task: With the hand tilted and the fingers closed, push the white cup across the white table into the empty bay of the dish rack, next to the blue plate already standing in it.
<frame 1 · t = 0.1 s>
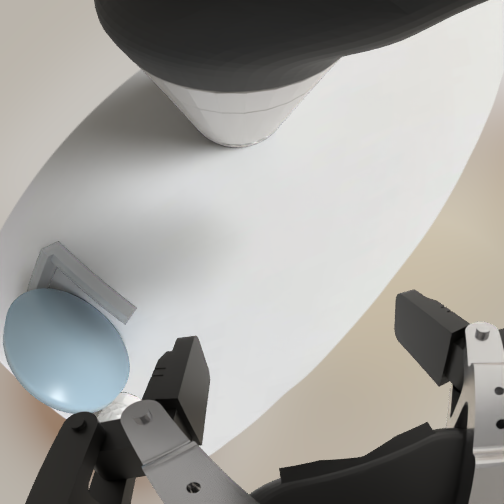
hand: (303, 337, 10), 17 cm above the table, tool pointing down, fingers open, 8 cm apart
dish rack: (62, 359, 30), on the table
white cup: (130, 406, 33), on the table
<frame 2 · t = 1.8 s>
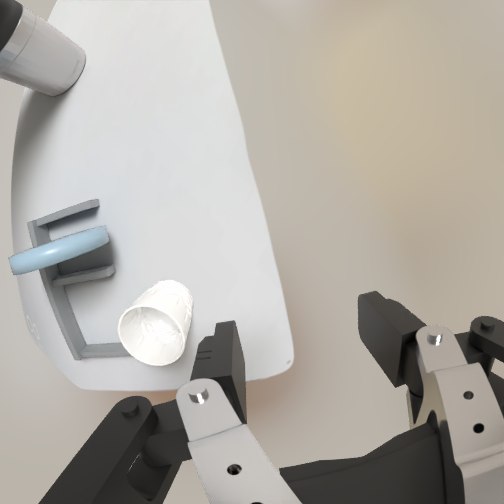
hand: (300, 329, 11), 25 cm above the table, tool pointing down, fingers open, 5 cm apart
dish rack: (100, 311, 37), on the table
white cup: (170, 301, 38), on the table
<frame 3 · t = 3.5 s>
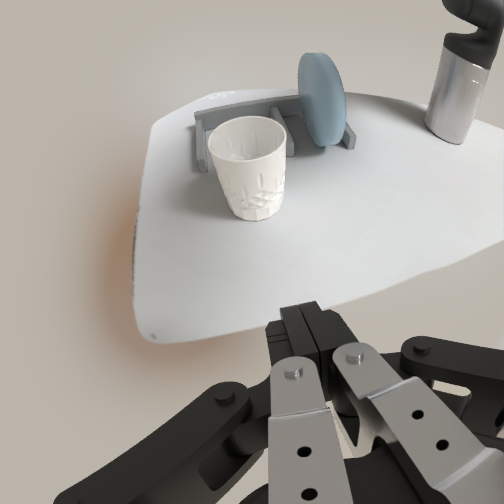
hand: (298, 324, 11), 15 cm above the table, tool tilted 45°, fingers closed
dish rack: (242, 143, 40), on the table
white cup: (256, 201, 34), on the table
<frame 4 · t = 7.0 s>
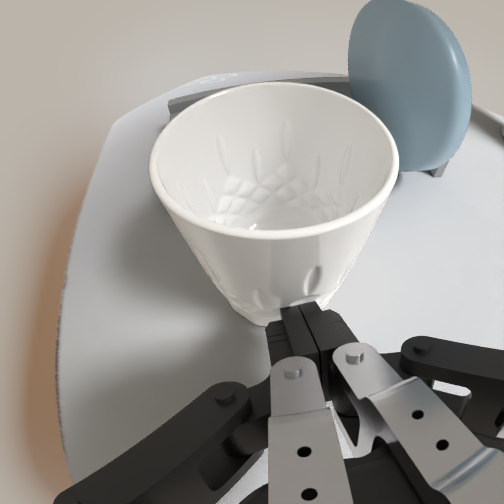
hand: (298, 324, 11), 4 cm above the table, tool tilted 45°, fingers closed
dish rack: (252, 155, 22), on the table
white cup: (279, 276, 17), on the table, touching gripper
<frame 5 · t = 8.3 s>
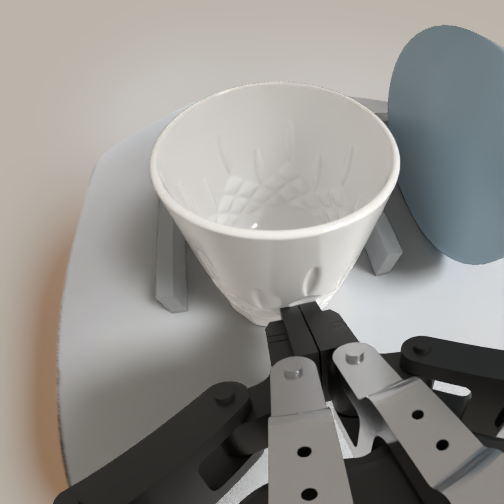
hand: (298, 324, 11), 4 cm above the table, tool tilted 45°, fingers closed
dish rack: (269, 225, 18), on the table
white cup: (279, 276, 17), on the table, touching gripper
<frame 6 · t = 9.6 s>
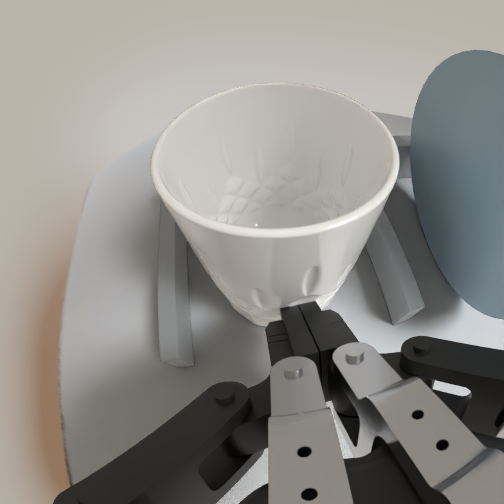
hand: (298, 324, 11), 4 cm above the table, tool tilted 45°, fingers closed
dish rack: (280, 269, 17), on the table
white cup: (280, 276, 17), on the table, touching gripper
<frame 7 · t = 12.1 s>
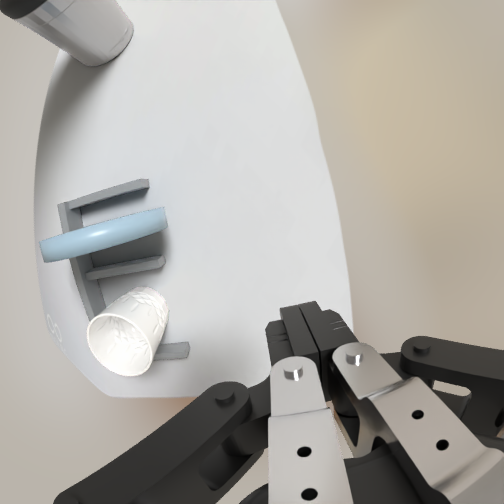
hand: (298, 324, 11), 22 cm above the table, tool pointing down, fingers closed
dish rack: (143, 308, 35), on the table
white cup: (146, 308, 35), on the table
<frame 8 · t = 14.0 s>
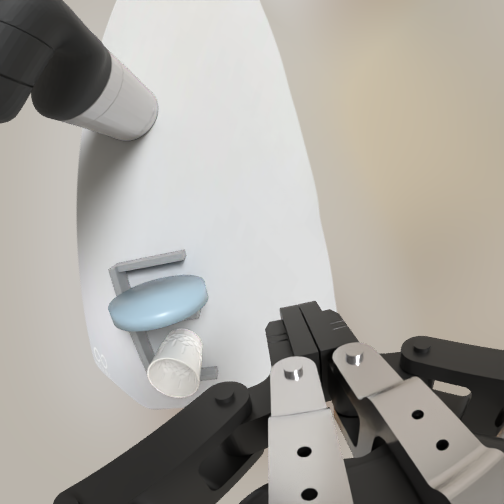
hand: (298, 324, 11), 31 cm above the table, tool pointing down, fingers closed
dish rack: (181, 344, 46), on the table
white cup: (184, 343, 46), on the table
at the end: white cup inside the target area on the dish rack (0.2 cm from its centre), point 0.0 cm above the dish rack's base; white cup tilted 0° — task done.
